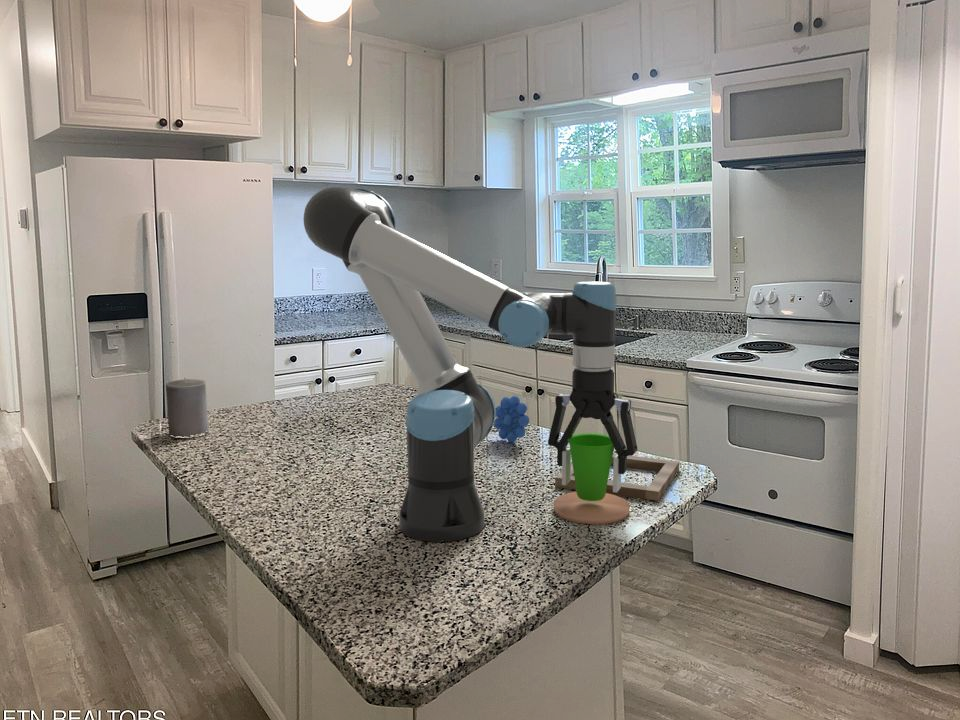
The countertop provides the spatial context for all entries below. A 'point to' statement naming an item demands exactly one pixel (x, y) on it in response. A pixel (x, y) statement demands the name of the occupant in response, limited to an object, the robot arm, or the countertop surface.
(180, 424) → the pillar candle
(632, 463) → the frame
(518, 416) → the grapes
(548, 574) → the countertop surface
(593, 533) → the countertop surface
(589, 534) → the countertop surface
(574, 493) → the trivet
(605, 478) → the cup
